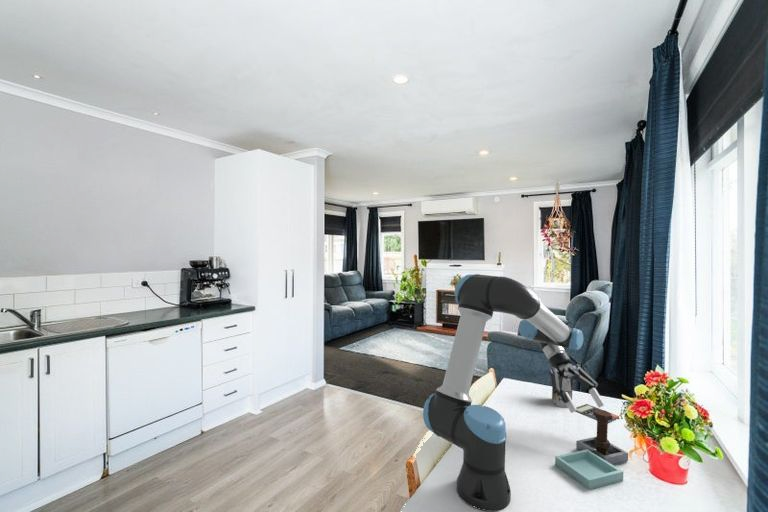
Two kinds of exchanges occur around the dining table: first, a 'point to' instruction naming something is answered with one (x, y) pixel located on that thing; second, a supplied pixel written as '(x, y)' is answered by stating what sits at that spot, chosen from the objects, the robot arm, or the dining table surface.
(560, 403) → the coffee box
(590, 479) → the tray
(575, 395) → the dining table surface
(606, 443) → the bolt
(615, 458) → the square frame
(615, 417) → the calculator
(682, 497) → the dining table surface
